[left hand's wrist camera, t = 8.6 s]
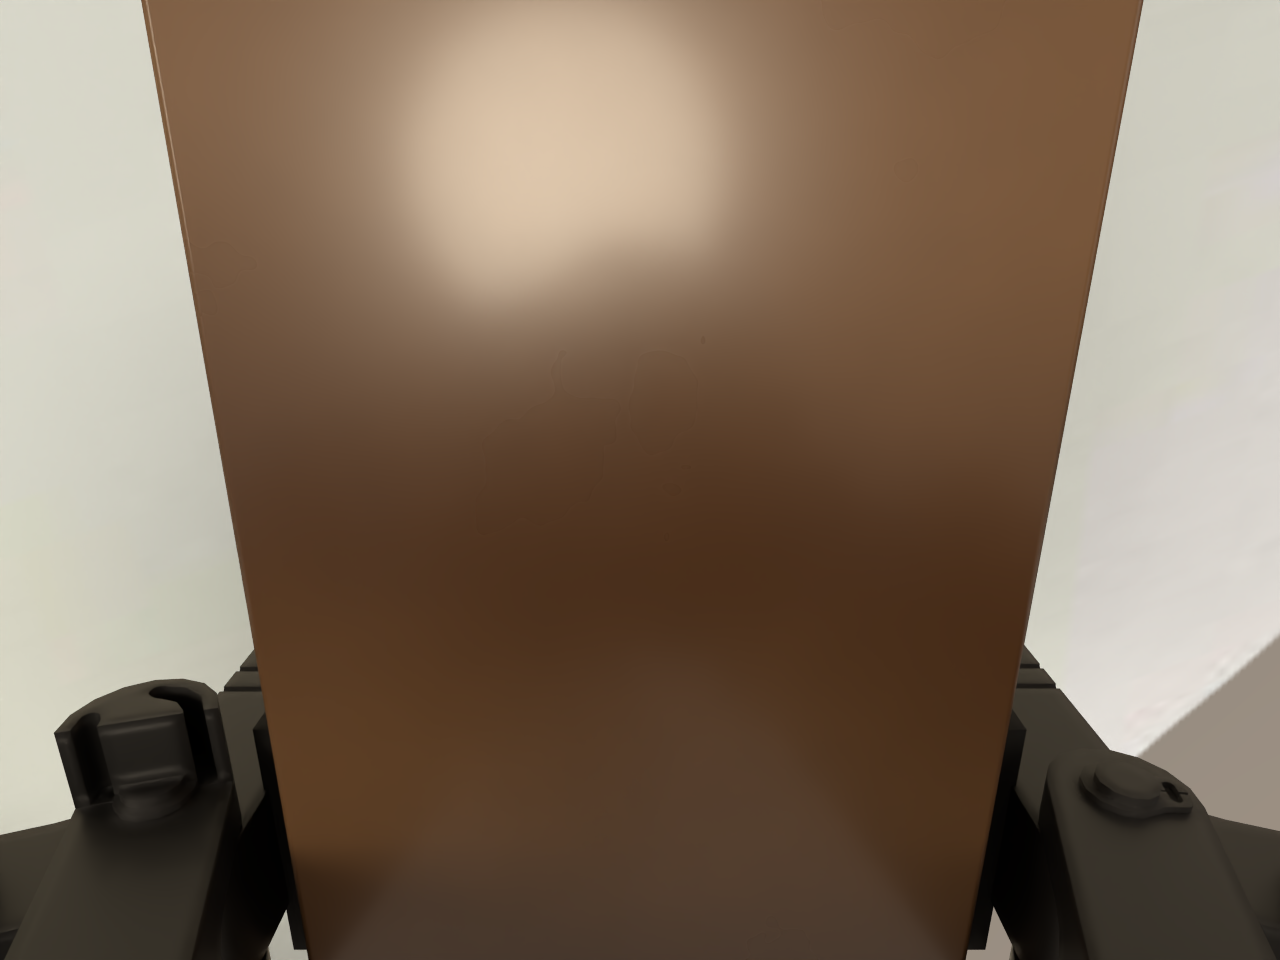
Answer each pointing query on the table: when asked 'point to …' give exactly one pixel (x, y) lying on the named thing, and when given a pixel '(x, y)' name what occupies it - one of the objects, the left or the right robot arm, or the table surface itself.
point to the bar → (639, 446)
